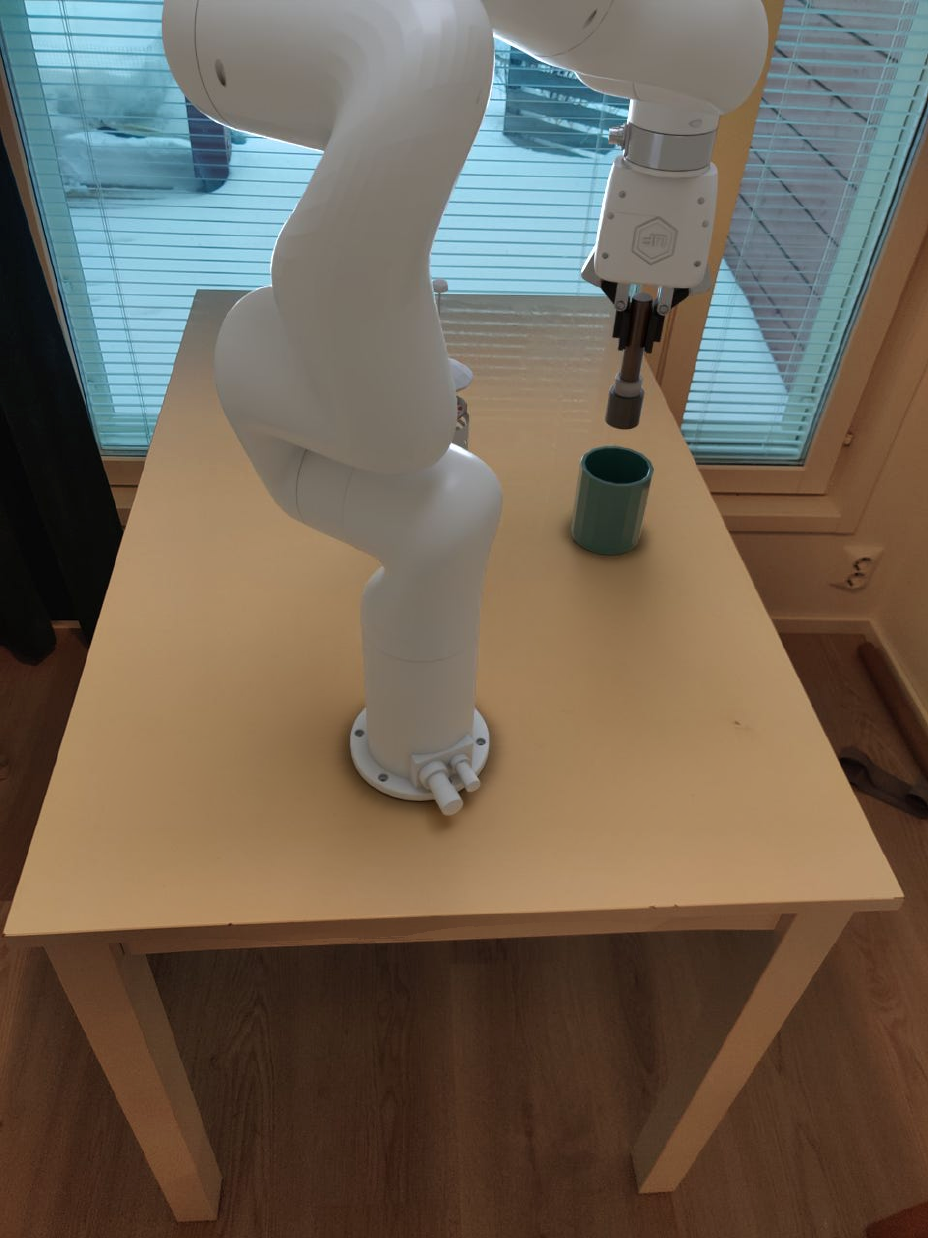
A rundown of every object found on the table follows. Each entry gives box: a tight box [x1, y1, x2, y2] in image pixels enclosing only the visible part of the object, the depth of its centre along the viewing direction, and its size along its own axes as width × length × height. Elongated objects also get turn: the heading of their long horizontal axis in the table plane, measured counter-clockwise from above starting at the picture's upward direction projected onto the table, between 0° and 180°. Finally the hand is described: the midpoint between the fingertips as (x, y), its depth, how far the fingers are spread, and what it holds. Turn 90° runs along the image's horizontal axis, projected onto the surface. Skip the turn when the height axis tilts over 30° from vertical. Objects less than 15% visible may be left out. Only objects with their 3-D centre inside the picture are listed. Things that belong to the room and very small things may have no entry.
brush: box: [604, 292, 654, 431], centre depth 94 cm, size 4×4×14 cm
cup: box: [570, 445, 655, 556], centre depth 106 cm, size 8×8×10 cm
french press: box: [432, 277, 474, 451], centre depth 109 cm, size 10×12×25 cm
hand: (634, 344), depth 92 cm, fingers closed on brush, 2 cm apart
